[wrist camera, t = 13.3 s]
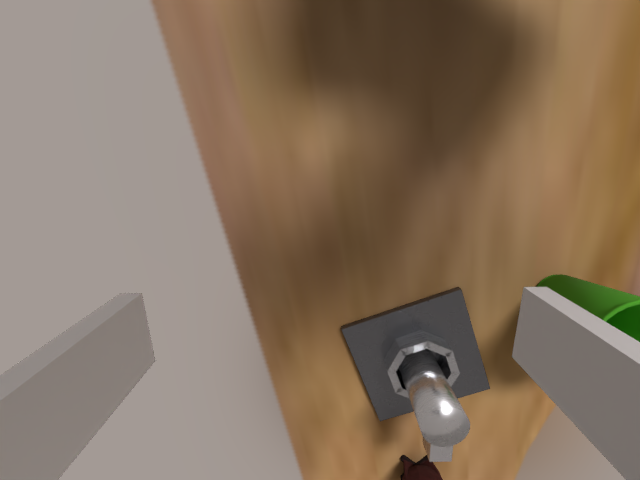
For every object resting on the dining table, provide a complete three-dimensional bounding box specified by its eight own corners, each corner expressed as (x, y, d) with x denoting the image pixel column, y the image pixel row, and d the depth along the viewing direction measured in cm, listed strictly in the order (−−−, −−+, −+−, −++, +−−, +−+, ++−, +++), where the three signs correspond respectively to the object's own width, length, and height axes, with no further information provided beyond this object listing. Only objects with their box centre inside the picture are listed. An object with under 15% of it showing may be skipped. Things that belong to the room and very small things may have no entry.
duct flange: (458, 286, 39) (470, 298, 36) (487, 384, 43) (500, 402, 40) (341, 326, 41) (342, 340, 38) (378, 416, 45) (383, 436, 42)
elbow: (399, 349, 41) (422, 408, 31) (436, 348, 41) (472, 407, 31) (397, 396, 43) (418, 466, 33) (433, 395, 43) (465, 465, 33)
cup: (605, 280, 39) (711, 327, 28) (556, 334, 41) (638, 397, 30) (549, 246, 37) (638, 282, 27) (502, 304, 40) (568, 358, 29)
